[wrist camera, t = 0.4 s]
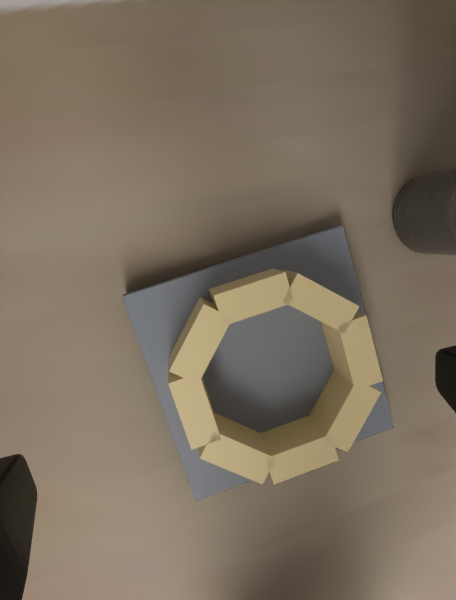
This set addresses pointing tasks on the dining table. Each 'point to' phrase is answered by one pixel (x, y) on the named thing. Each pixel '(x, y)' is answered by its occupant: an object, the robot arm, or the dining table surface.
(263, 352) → the nut plate
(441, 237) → the shiny metal cylinder
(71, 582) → the dining table surface
